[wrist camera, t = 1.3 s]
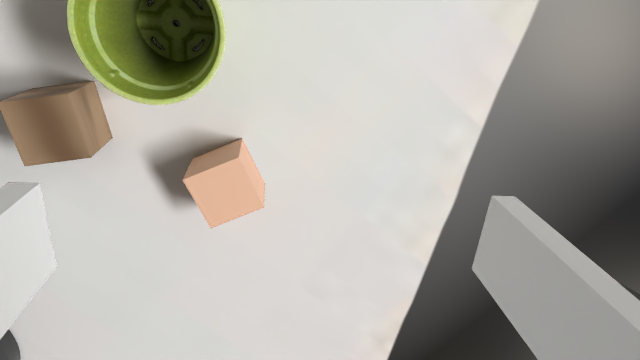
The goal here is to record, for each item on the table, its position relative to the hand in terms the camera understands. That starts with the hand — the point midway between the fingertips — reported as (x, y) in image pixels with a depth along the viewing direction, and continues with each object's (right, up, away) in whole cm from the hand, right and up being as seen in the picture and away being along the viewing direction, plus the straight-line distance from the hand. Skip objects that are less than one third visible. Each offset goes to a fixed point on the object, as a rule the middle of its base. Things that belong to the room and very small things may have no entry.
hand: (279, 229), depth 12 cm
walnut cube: (-20, +7, +23) cm, 31 cm away
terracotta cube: (-7, +2, +27) cm, 28 cm away
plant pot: (-10, +14, +21) cm, 28 cm away
